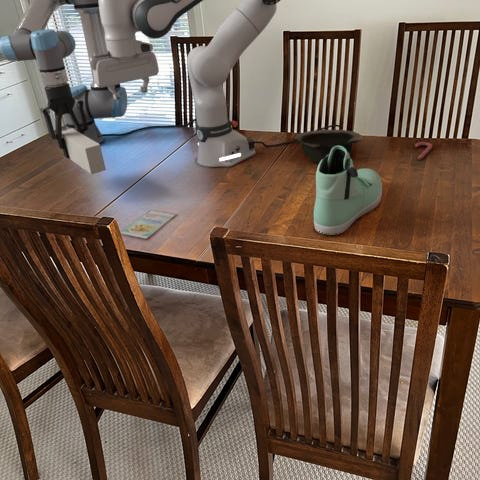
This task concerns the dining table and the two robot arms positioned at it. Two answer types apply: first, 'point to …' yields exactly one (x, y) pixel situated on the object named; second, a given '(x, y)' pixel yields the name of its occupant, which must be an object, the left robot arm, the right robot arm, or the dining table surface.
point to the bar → (84, 151)
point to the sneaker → (343, 192)
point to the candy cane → (425, 149)
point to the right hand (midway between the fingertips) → (131, 95)
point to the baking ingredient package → (147, 224)
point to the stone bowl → (325, 142)
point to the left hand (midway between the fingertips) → (75, 154)
